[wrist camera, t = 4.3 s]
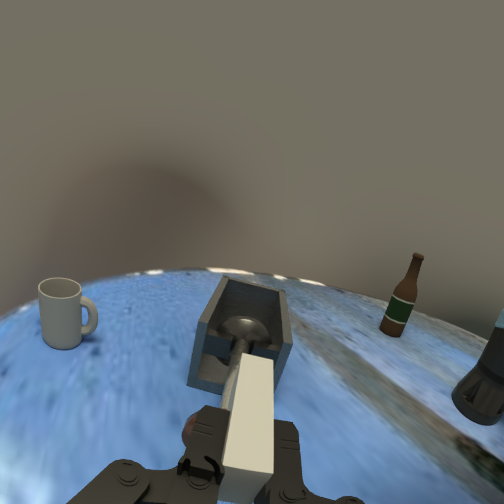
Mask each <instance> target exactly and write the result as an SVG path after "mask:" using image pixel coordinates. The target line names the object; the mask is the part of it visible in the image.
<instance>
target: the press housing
mask: <svg viewBox="0 0 504 504" xmlns="http://www.w3.org/2000/svg"><path fill="white" fill-rule="evenodd" d="M234 316H247V317H251V318H254V319H256V320H258V321H260V322H261V323H263V324H264V325H265V326H266V327H267V329H268V330H269V332H270V334H271V338H272V344H269V343H264V342H260V341H256V340H255V341H254V344H253V347H252V351H251V354H250V355H253V356H257V357H262V358H266V359H271V360H273V393H274V392H275V390H276V387H277V385H278V382H279V380H280V377H281V374H282V372H283V369H284V367H285V364H286V361H287V359H288V356H289V354H290V351H291V348H292V345H293V341H292V334H291V327H290V320H289V314H288V307H287V301H286V294H285V291H283V290H279V289H275V288H271V287H267V286H263V285H259V284H255V283H251V282H247V281H243V280H240V279H236V278H232V277H228V276H224V275H223V277H222V279H221V281H220V282H219V284H218V286H217V288H216V290H215V291H214V293H213V295H212V297H211V299H210V300H209V302H208V304H207V306H206V308H205V310H204V311H203V313H202V315H201V317H200V319H199V321H198V325H197V330H196V336H195V341H194V347H193V352H192V358H191V364H190V369H189V375H188V381H187V386H190V387H194V388H197V389H201V390H204V391H208V392H212V393H216V394H220V395H222V394H223V390H224V386H225V382H226V377H227V373H228V369H229V367H227V366H225V365H224V364H222V363H221V362H220V361H219V360H218V359H217V358H216V357H220V358H224V359H227V358H228V354H229V351H230V347H231V343H232V339H233V335H231V334H227V333H224V332H220V331H216V328H217V327H218V325H219V324H220V323H221V322H223V321H224V320H226V319H228V318H230V317H234Z"/></svg>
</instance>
